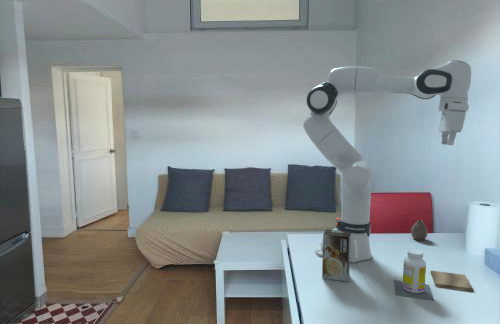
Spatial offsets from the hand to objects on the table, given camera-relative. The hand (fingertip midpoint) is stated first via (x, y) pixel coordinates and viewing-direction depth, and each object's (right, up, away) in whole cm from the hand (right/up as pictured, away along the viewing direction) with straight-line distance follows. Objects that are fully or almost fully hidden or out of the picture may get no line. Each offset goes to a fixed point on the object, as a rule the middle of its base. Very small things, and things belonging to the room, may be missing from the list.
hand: (447, 144), depth 134 cm
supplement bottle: (-19, -48, -14) cm, 54 cm away
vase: (+6, -43, +36) cm, 56 cm away
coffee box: (-42, -47, -4) cm, 63 cm away
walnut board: (-3, -48, -8) cm, 48 cm away
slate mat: (-19, -48, -14) cm, 54 cm away
